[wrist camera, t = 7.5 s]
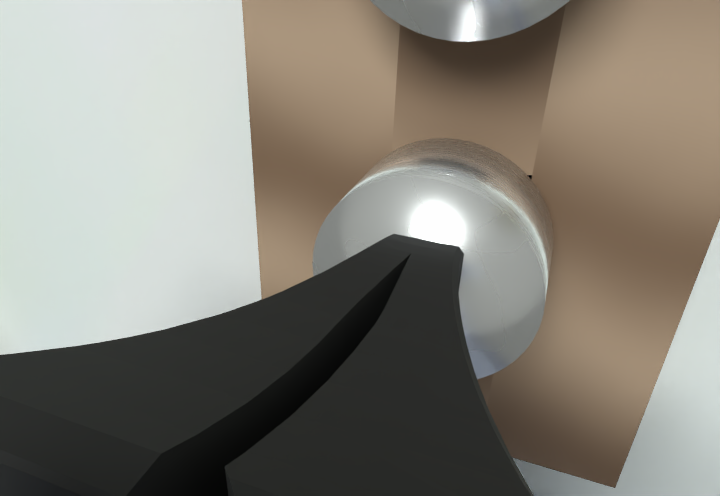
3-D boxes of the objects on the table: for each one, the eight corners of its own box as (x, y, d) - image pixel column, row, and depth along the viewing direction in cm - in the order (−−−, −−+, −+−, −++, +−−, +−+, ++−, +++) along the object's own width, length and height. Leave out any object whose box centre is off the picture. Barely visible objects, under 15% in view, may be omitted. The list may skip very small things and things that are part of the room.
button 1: (539, 294, 14) (521, 408, 11) (375, 259, 16) (313, 351, 12) (578, 125, 12) (570, 201, 9) (384, 100, 13) (310, 158, 10)
